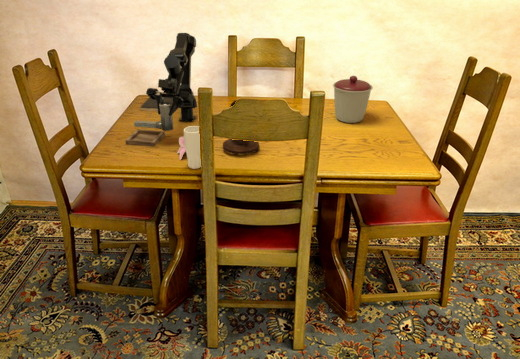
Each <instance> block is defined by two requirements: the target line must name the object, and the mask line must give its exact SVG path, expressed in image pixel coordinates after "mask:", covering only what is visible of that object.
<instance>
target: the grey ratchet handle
mask: <svg viewBox="0 0 520 359" xmlns="http://www.w3.org/2000/svg"><path fill="white" fill-rule="evenodd" d="M133 127H137V128H153V129H158V130H162V125H161V120H159V121H158V120H157V121H152V120H151V121H148V120H135V121H134V122H133Z"/></svg>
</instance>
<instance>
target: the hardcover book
mask: <svg viewBox="0 0 520 359" xmlns="http://www.w3.org/2000/svg"><path fill="white" fill-rule="evenodd" d="M163 100H164V101H168V102H171V106H172V103H173V98H165V97H164V98H163ZM139 108H140V111H147V112H148V111H150V112H152V111H153V112H158V106H157V100H152V99H151V98H150V97H149V96H148V98H147V99H146V100H145V101H144V102H143V103H142V104H141V105H140V106H139Z"/></svg>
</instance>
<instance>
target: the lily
mask: <svg viewBox="0 0 520 359" xmlns="http://www.w3.org/2000/svg"><path fill="white" fill-rule="evenodd" d="M178 143H179V146H180V147H179V149H178V150H177V153H176V154H177V155H178V154H179V160H180V161H181V160H182V158H183V155H184V154H185V153H186V148H185V142H184V136H179V138H178Z"/></svg>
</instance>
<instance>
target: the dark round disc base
mask: <svg viewBox="0 0 520 359" xmlns="http://www.w3.org/2000/svg"><path fill="white" fill-rule="evenodd" d="M237 100H238V99H237ZM237 100H236V99H235V100H233V101H232V102H231V104H230V106H229V108H230V107H231V106H233V105H234V104H235V102H236V101H237ZM222 149H223V150H224V151H225V152H227V153H229V154H234V156H235V157H238V156H239V155H246V154H247V155H248V154H252V153H255V152H257V153H258V151H259V149H260V143H259V141H258V142H254V141H243V140H232V139H230V138H227V139H226V140H225V141H223V143H222Z"/></svg>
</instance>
